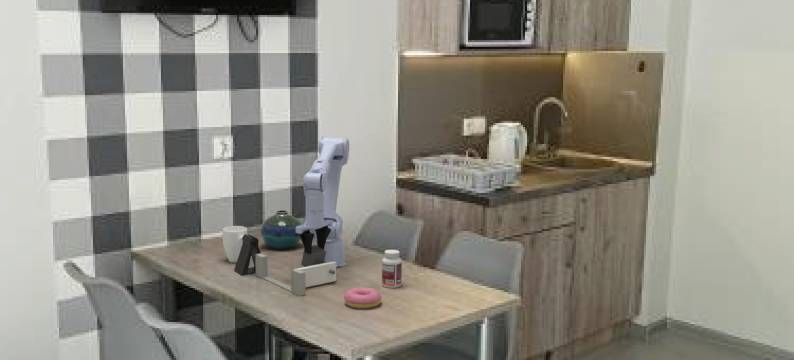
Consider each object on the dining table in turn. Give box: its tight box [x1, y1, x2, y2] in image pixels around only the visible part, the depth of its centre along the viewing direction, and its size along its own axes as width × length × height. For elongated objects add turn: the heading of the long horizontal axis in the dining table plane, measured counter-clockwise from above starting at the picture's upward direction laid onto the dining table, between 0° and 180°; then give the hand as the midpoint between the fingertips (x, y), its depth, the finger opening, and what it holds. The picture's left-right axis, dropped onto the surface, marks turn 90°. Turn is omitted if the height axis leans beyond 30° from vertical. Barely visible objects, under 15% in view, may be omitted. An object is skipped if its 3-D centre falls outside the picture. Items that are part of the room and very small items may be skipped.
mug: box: [222, 225, 248, 264], centre depth 275 cm, size 12×8×11 cm
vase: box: [260, 210, 302, 250], centre depth 296 cm, size 15×15×13 cm
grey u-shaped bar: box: [255, 253, 306, 297], centre depth 251 cm, size 2×26×7 cm, turn 40°
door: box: [294, 262, 337, 288], centre depth 250 cm, size 3×15×6 cm, turn 130°
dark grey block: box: [300, 244, 326, 267], centre depth 257 cm, size 5×8×6 cm, turn 50°
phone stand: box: [233, 233, 262, 276], centre depth 264 cm, size 9×6×12 cm, turn 125°
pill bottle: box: [381, 249, 403, 289], centre depth 253 cm, size 6×6×11 cm
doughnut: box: [343, 286, 382, 309], centre depth 235 cm, size 11×11×4 cm
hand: (314, 251), depth 257 cm, fingers closed on dark grey block, 5 cm apart
